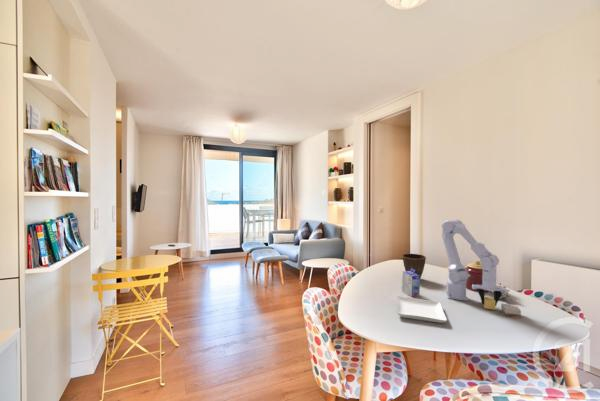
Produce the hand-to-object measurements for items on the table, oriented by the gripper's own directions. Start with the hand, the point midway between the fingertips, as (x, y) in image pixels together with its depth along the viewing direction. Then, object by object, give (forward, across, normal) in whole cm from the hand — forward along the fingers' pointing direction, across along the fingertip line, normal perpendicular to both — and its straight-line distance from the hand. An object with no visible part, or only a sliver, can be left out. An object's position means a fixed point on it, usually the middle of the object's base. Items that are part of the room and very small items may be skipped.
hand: (488, 304), depth 133 cm
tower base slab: (+2, +8, -4) cm, 9 cm away
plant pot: (+2, -35, +35) cm, 49 cm away
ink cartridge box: (+2, -37, +6) cm, 37 cm away
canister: (+2, +1, +30) cm, 30 cm away
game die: (+2, +9, +17) cm, 19 cm away
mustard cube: (+2, 0, 0) cm, 2 cm away
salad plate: (+3, -33, -19) cm, 38 cm away
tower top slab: (0, +8, -4) cm, 9 cm away
